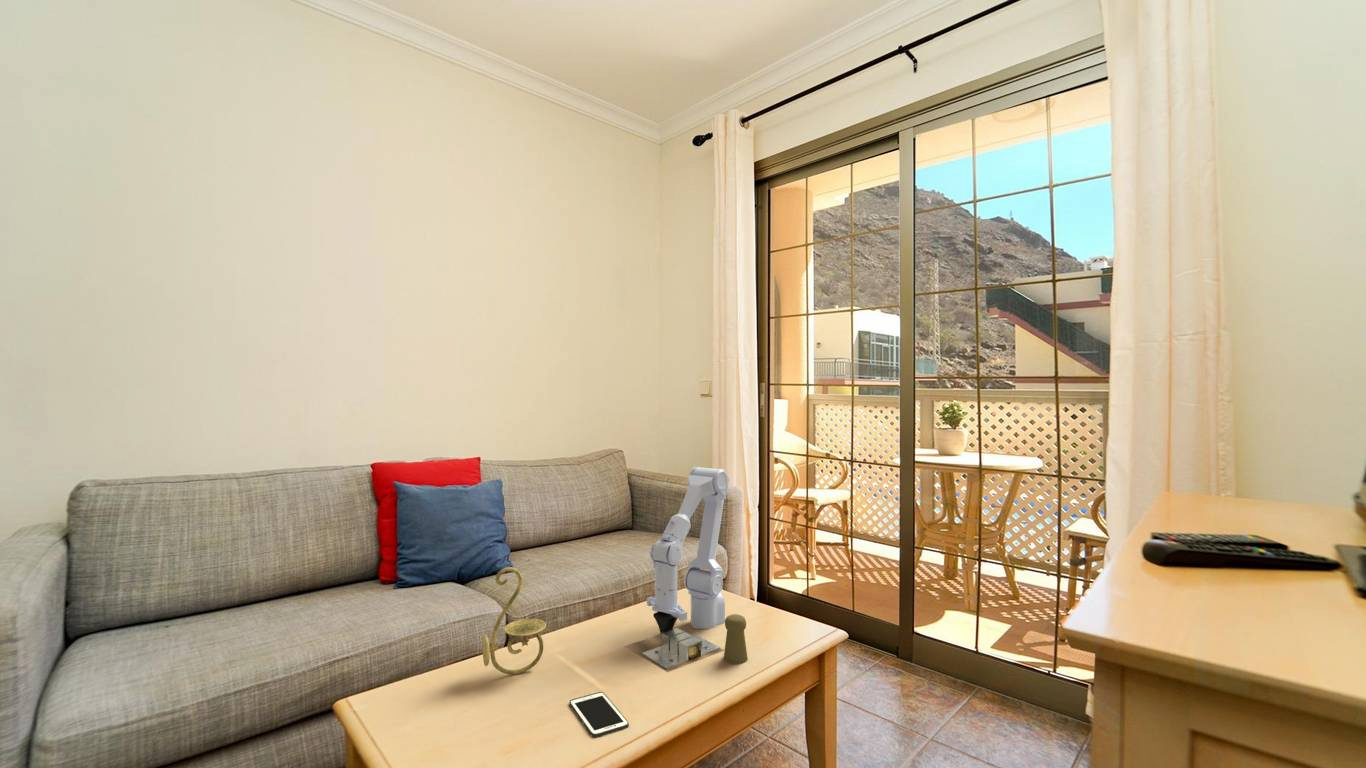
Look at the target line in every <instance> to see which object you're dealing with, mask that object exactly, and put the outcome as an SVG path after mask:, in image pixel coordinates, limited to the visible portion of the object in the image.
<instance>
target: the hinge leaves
mask: <svg viewBox="0 0 1366 768" xmlns="http://www.w3.org/2000/svg"><path fill="white" fill-rule="evenodd" d="M678 628H679V627H675V628H673V629H672V630H669V631H666V632H663V633H662V646H660V647H658V648H655V649H652V650H649V651H646V652H643V653H642V655H643V656H645V657H647V658H648V659H650V660H652V661H653V662H655V663H657V664H658V665H660V666H662V667H663V668H665V669H670V668H673V667H675V666H678V665H680V664H683V663H686V662H688V647H690V646H695V647H697V648H698V655H699V656H700V657H702V656H704V655H707V654H709V653H712V652H715V651H717V650H720V648H721V646H718V645H716V644H715V643H712V642H710V641H708V640H707V639H705V638H702V637H700V636H699V635H696V634H693V635H690V634H688V633H686V632H685V633H684V631H682V630H680V629H678Z"/></svg>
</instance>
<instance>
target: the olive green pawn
mask: <svg viewBox="0 0 1366 768" xmlns="http://www.w3.org/2000/svg"><path fill="white" fill-rule="evenodd" d="M724 626H725V629H726V636H725V642H724V643H725V645H724V651H723V653H724V654H723V660H724V661H725V662H727V663H729V664H733V665H740V664H745V663H746V662H748V651H747V643H746V636H745V630H746V628H747V620H746V618H745V617H744V616H743V615H741V614H738V613H737V614H736V613H734V614H729V615H727V616H726V617H725V622H724Z"/></svg>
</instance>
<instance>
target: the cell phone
mask: <svg viewBox="0 0 1366 768" xmlns="http://www.w3.org/2000/svg"><path fill="white" fill-rule="evenodd" d="M568 704H569V706H570V708H571V710H572V711H573V712H574V714H575V715H576V716H577V718H578V720H579V721H580V722H581V723H582V724H583V727H584V728H585V729H586V730H587V732H588V734H589V735H590V736H591V737H592V738H595V739H596V738H600V737H603V736H606V735H609V734H613V733H616V732H619V731H623V730H626V729H628V728H629V727H630V726H629V721H628V719H626V717H625V716H624V715H623V714H622V713H621V711H620V710H619V709H618V708H617V707H616V706H615V704H614V703H613V702H612V700H610V698H609V697H608V696H607V695H606V693H604V692H603V691H598V692H594V693H590V694H588V695H587V694H586V695H583V696H579V697H577V698H576V697H575V698H572V699H570V700H569V703H568Z"/></svg>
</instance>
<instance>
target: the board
mask: <svg viewBox="0 0 1366 768" xmlns="http://www.w3.org/2000/svg"><path fill="white" fill-rule="evenodd" d="M677 628H678V629H680V630H682V631H684V633H685V632H686V633H688V634H690V635H694V634H693V633H691V632H689V631H687V630H685V629H682V628H680V627H677ZM660 646H662V638H661V634H657V635H654V636H651V637H650V636H649V637H647V638H645V639H642V640H638V641H636V642H633V643H630V644H629V643H628V644H627V645H624V647H625V648H626V649H628V650H630V651H632V652H634V653H635V654H637V655H639V656H640V657H642V658H643V659H645V660H647V661H648V662H651V664H654V665H655V666H657V667H659V668H660V669H662V670H663V671H665V672H667V673H669V672H671V671H674V670H677V669H680V668H682V667H685V666H687V665H690V664H693V663H695V662H698V661H700V660H703V659H705V658H708V657H711V656H714V655H716V654H719V653H721V652H724V651H725V649H723V648H721V647H720V650H717V651H715V652H712V653H709V654H707V655H704V656H702V657H700V656H699V655H697V657H696V658H695V659H691V658H689V657H688V662H686V663H683V664H680V665H678V666H675V667H673V668H670V669H665V668H663V667H662V666H660V665H658V664H657V663H655V662H653V661H652V660H650V659H648V658H647V657H645V656H643V655H642V653H643V652H646V651H649V650H652V649H655V648H658V647H660Z"/></svg>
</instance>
